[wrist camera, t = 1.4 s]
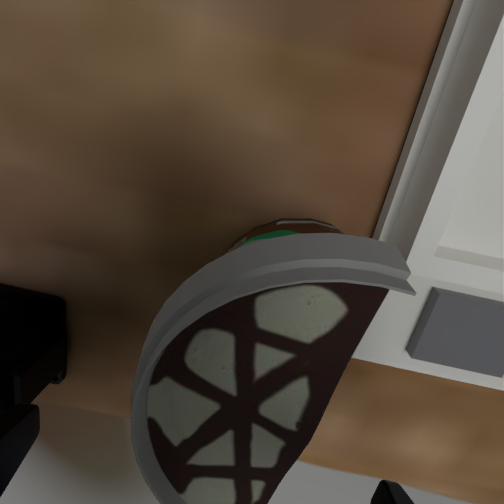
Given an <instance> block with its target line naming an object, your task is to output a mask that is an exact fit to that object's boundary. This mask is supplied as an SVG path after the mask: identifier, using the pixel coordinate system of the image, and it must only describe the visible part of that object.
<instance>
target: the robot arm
mask: <svg viewBox="0 0 504 504" xmlns="http://www.w3.org/2000/svg"><path fill="white" fill-rule="evenodd" d="M54 304H56V305H57V307H56V306H55V305H54ZM66 365H67V333H66V305H65V302H64V300H63V299H62V298H60V297H57V296H52V295H48V294H43V293H39V292H34V291H30V290H25V289H20V288H16V287H11V286H7V285H2V284H0V497H1V495H2V494H3V492H4V491H5V489H6V487H7V486H8V484H9V482H10V481H11V479H12V477H13V476H14V474H15V472H16V471H17V469H18V468H19V466H20V464H21V463H22V461H23V459H24V458H25V456H26V454H27V453H28V451H29V450H30V448H31V446H32V445H33V443H34V441H35V440H36V438H37V436H38V434H39V430H40V417H39V407H38V406H37V405H34V404H30V403H31V402H32V401H33V400H34V399H35V398H36V397H37V396H38V395H39V393H40V392H41V391H42V390H43V389H44V388H45V387H46V386H47V385H48V384H49V383H52V384H59V383H61V382H62V380H63V379H64V378H65V376H66ZM370 504H414V503H413V501H412V500H411V499H410V497H409V496H408V495H407V494H406V492H405V491H404V490H403V488H402V487H401V486H400V485H399V484H398V483H396V482H393V481H388V480H381V481H380V482H379V485H378V487H377V489H376V491H375V493H374V495H373V497H372V499H371V503H370Z"/></svg>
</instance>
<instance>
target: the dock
mask: <svg viewBox="0 0 504 504" xmlns="http://www.w3.org/2000/svg"><path fill="white" fill-rule="evenodd" d="M372 239H375V240H379V241H383V242H386V243H390V244H394V245H397V246H398V248H399V250H400V252H401V254H402V256H403V258H404V260H405V262H406V263H407V265H408V267H409V269H410V271H411V274H410V276H409V278H408V279H407V281H408V283H409V284H410V285H411V287H412V288H413V289H414V290H415V292H416V295H415V296H413V295H409V294H405V293H402V292H398V291H394V290H389V292H388V294H387V295H386V297H385V299H384V301H383V302H382V304H381V306H380V308H379V309H378V311H377V313H376V315H375V316H374V318H373V320H372V322H371V323H370V325H369V327H368V329H367V330H366V332H365V334H364V336H363V338H362V339H361V341H360V343H359V345H358V346H357V348H356V350H355V352H354V353H353V355H352V357H351V358H356V359H360V360H365V361H370V362H374V363H379V364H383V365H388V366H393V367H397V368H402V369H406V370H411V371H415V372H420V373H425V374H429V375H434V376H438V377H443V378H448V379H452V380H457V381H461V382H466V383H471V384H475V385H480V386H484V387H489V388H494V389H498V390H503V391H504V0H454V2H453V5H452V8H451V10H450V13H449V16H448V19H447V22H446V25H445V28H444V31H443V34H442V37H441V39H440V42H439V45H438V48H437V51H436V54H435V57H434V60H433V63H432V66H431V68H430V71H429V74H428V77H427V80H426V83H425V86H424V89H423V92H422V95H421V97H420V100H419V103H418V106H417V109H416V112H415V115H414V118H413V121H412V124H411V126H410V129H409V132H408V135H407V138H406V141H405V144H404V147H403V150H402V153H401V155H400V158H399V161H398V164H397V167H396V170H395V173H394V176H393V179H392V182H391V184H390V187H389V190H388V193H387V196H386V199H385V202H384V205H383V208H382V211H381V213H380V216H379V219H378V222H377V225H376V228H375V231H374V234H373V237H372Z"/></svg>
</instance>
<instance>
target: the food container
mask: <svg viewBox="0 0 504 504" xmlns="http://www.w3.org/2000/svg"><path fill="white" fill-rule="evenodd" d="M410 274H411V271H410V269H409V267H408V265H407V263H406V262H405V260H404V258H403V256H402V254H401V252H400V250H399V248H398V246H397V245H394V244H390V243H386V242H383V241H379V240H375V239H372V238H368V237H362V236H354V235H346V234H343V233H342V232H341V231H340V230H338V229H337V228H336V227H334V226H333V225H332V224H328V223H325V222H321V221H317V220H314V219H279V220H276V221H273V222H270V223H267V224H264V225H260V226H257V227H255V228H253V229H252V230H251V231H249V232H248V233H246V234H245V235H244V236H242V237H241V238H239V239H238V240H237V241H235V242H234V243H233V244H232V246H231V247H230V248H229V250H228V251H227V252H226V254H225V255H223V256H221V257H219V258H218V259H216V260H214V261H212V262H210V263H208V264H206V265H205V266H204V267H202V268H201V269H200V270H198V271H197V272H196V273H194V274H193V275H192V276H190V277H189V278H188V279H187V280H185V281H184V282H183V283H182V284H181V285H180V286H179V287H178V288H177V289H176V291H175V292H174V293H173V294H172V295H171V296H170V297H169V298H168V299H167V300H166V301H165V303H164V305H163V306H162V308H161V309H160V311H159V313H158V314H157V316H156V317H155V319H154V320H153V322H152V324H151V327H150V329H149V332H148V335H147V337H146V340H145V342H144V345H143V349H142V352H141V356H140V359H139V363H138V366H137V370H136V373H135V378H134V383H133V389H132V394H131V436H132V437H131V439H132V444H133V448H134V452H135V457H136V461H137V464H138V466H139V468H140V471H141V473H142V475H143V477H144V479H145V482H146V483H147V485H148V486H149V488H150V490H151V491H152V493H153V494H154V496H155V497H156V499H157V500H158V501H159V502H160V504H267V503H268V502H269V500H270V498H271V497H272V495H273V493H274V492H275V490H276V488H277V486H278V485H279V483H280V482H281V480H282V479H283V477H284V476H285V474H286V473H287V472H288V470H289V469H290V468H291V466H292V465H293V464H294V463H295V461H296V460H297V459H298V457H299V456H300V455H301V453H302V452H303V450H304V449H305V447H306V446H307V445H308V443H309V442H310V440H311V438H312V436H313V434H314V432H315V430H316V428H317V426H318V424H319V422H320V420H321V418H322V416H323V414H324V412H325V409H326V407H327V405H328V403H329V401H330V398H331V396H332V394H333V392H334V390H335V388H336V386H337V384H338V382H339V380H340V378H341V376H342V374H343V372H344V370H345V368H346V366H347V364H348V362H349V361H350V359H351V357H352V355H353V353H354V352H355V350H356V348H357V346H358V345H359V343H360V341H361V339H362V338H363V336H364V334H365V332H366V330H367V329H368V327H369V325H370V323H371V322H372V320H373V318H374V316H375V315H376V313H377V311H378V309H379V308H380V306H381V304H382V302H383V301H384V299H385V297H386V295H387V294H388V292H389V290H394V291H398V292H402V293H405V294H409V295H413V296H415V295H416V292H415V290H414V289H413V288H412V287H411V285H410V284H409V283H408V281H407V279H408V278H409V276H410Z"/></svg>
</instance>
